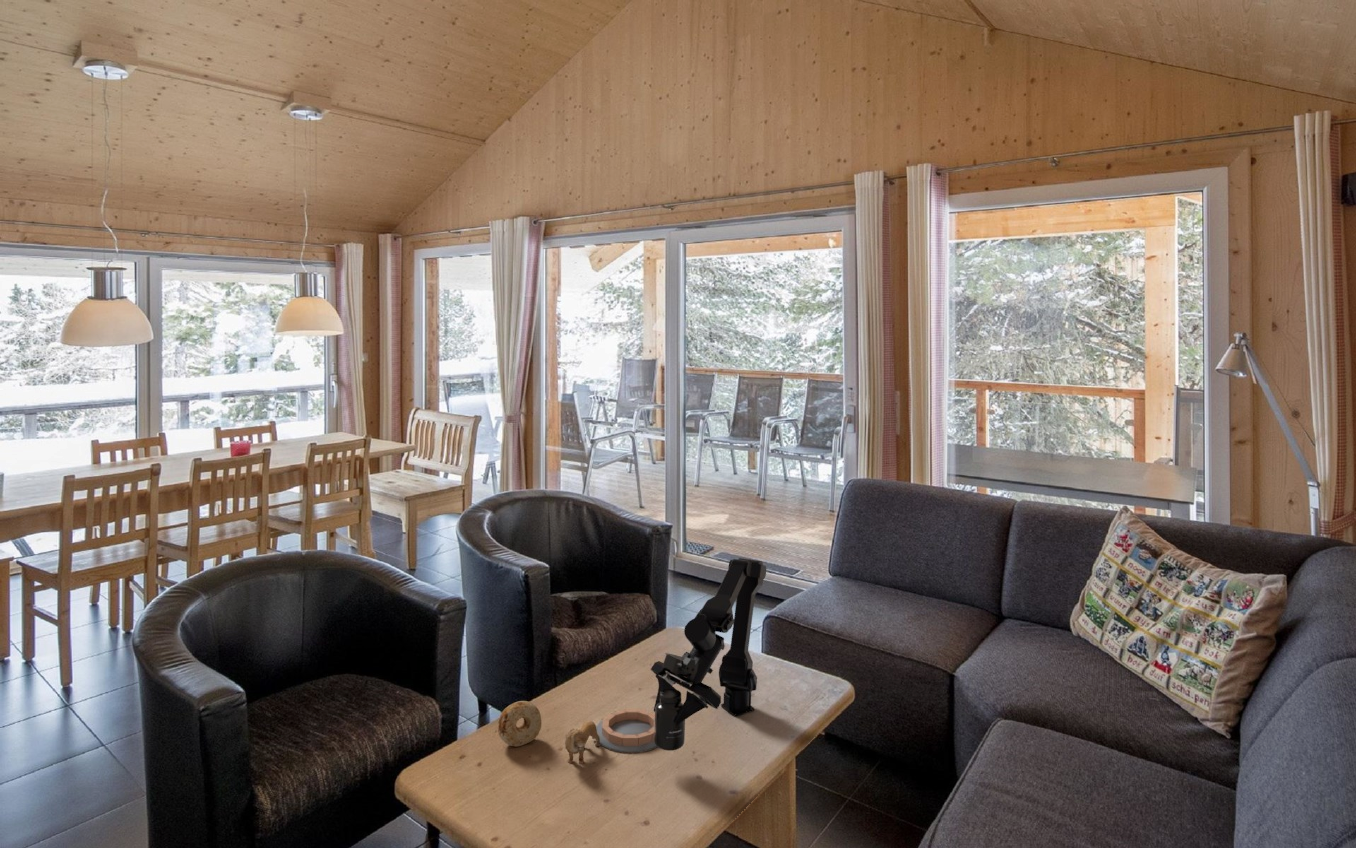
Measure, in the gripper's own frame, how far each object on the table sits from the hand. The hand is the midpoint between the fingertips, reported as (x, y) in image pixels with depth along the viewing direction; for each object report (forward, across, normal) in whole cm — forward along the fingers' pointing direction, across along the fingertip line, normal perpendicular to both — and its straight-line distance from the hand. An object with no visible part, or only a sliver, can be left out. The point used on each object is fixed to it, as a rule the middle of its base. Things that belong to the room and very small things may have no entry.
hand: (665, 717), depth 179 cm
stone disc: (+22, -31, -4) cm, 38 cm away
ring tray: (+6, -18, +12) cm, 22 cm away
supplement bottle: (+4, 0, +6) cm, 7 cm away
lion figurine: (+17, -17, +2) cm, 24 cm away
